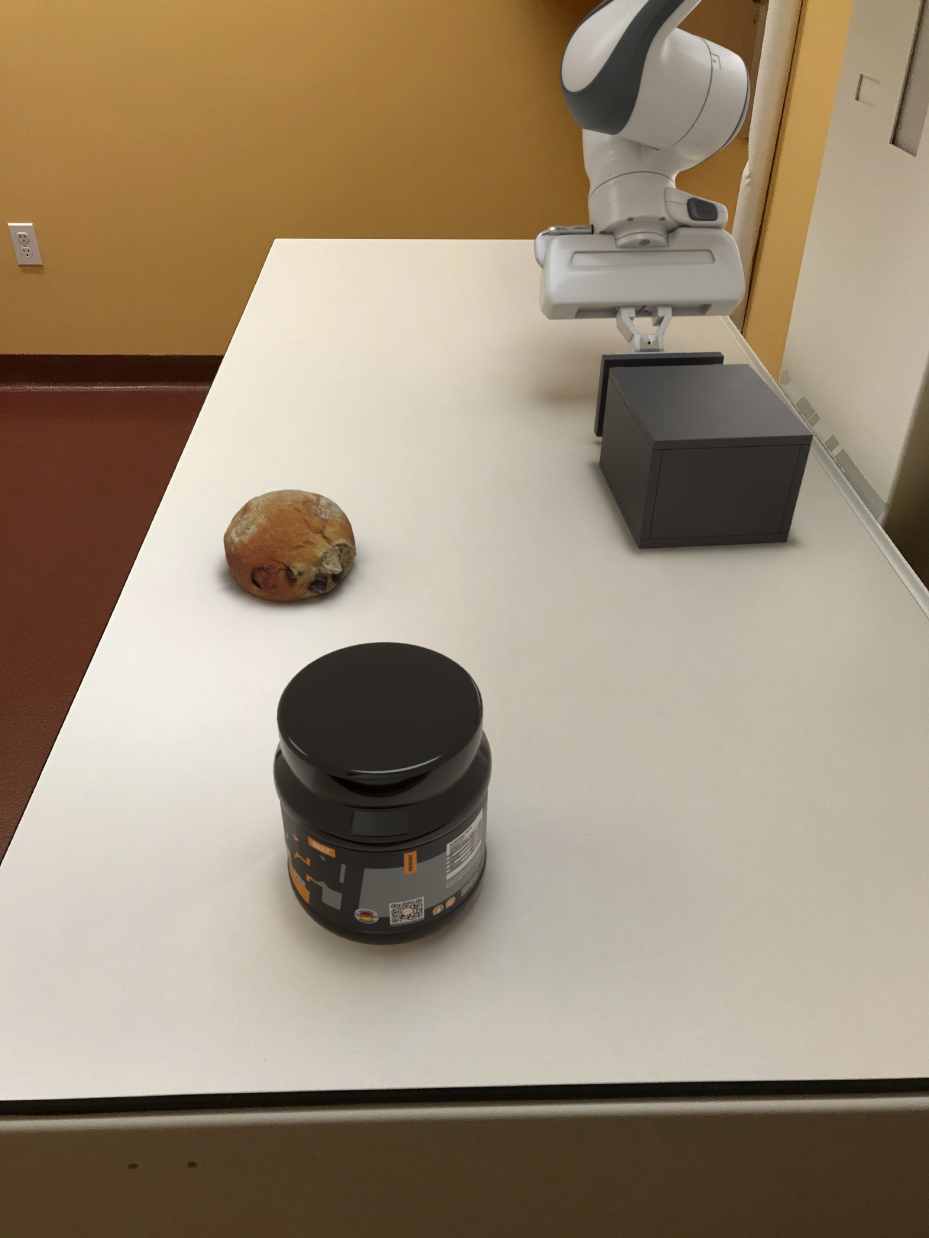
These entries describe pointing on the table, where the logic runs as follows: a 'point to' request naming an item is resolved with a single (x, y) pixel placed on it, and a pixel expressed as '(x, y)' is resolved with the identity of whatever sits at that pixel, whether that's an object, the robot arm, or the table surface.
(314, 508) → the bread roll
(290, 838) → the supplement container
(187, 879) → the table surface
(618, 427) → the dark grey cabinet
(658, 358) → the grey drawer
